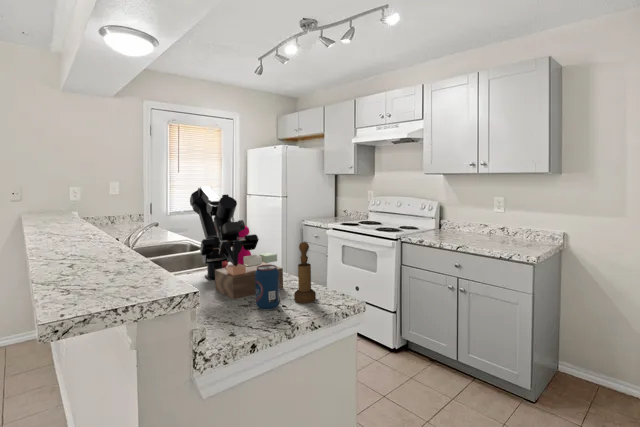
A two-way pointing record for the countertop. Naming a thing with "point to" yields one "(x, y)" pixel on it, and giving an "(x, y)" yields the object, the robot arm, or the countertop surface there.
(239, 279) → the keypad console
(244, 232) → the pepper mill
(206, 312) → the countertop surface
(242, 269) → the terracotta key
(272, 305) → the soda can
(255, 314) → the countertop surface
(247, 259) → the cream key
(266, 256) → the sage key
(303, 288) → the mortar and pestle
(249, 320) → the countertop surface
